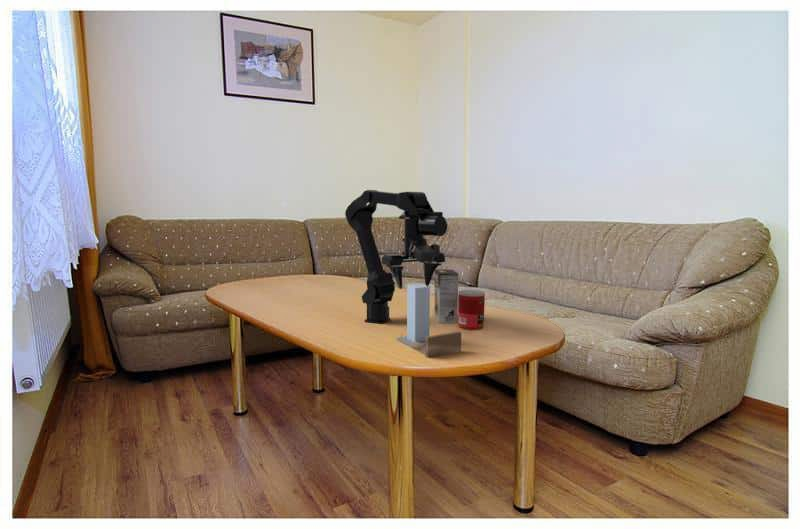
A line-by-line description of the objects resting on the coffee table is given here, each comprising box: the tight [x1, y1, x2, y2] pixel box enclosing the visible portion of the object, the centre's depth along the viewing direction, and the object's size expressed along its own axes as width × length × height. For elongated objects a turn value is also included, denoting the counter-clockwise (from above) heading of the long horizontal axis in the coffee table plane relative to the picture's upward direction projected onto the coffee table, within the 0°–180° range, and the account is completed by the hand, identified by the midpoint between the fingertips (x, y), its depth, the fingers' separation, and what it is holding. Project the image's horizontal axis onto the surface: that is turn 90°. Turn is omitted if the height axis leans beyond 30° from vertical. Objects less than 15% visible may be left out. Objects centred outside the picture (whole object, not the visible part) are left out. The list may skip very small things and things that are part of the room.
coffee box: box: [434, 268, 459, 324], centre depth 153 cm, size 9×6×16 cm
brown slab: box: [411, 331, 462, 358], centre depth 122 cm, size 9×10×5 cm
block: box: [406, 283, 431, 342], centre depth 129 cm, size 4×4×15 cm
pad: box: [396, 335, 425, 348], centre depth 130 cm, size 9×9×1 cm
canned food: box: [457, 289, 486, 331], centre depth 144 cm, size 8×8×11 cm
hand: (414, 287), depth 140 cm, fingers open, 9 cm apart
